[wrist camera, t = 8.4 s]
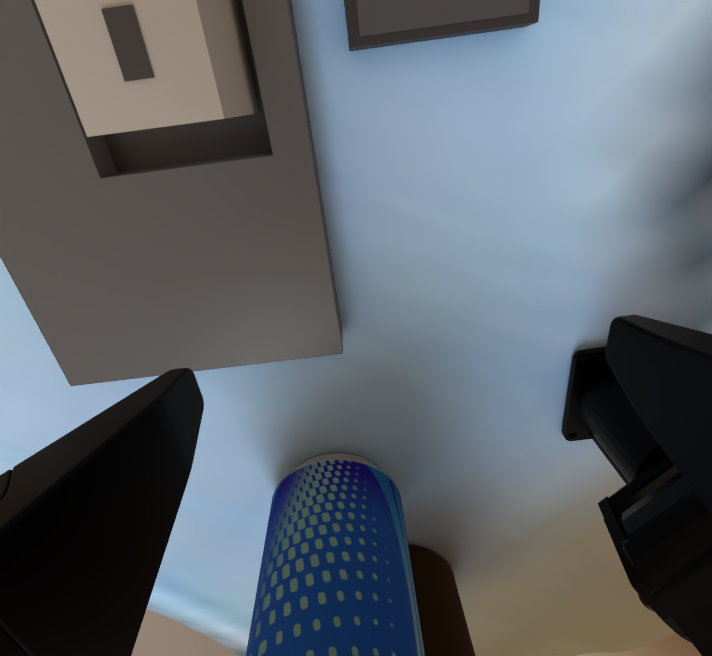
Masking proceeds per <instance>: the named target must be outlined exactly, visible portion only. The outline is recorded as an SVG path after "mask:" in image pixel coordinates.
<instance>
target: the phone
mask: <svg viewBox="0 0 712 656" xmlns="http://www.w3.org/2000/svg"><path fill="white" fill-rule="evenodd" d="M539 4H540V0H344V5H345V14H346V23H347V33H348V42H349V51H355V50H362V49H369V48H377V47H384V46H391V45H398V44H405V43H413V42H420V41H427V40H434V39H441V38H449V37H456V36H463V35H470V34H477V33H485V32H492V31H499V30H506V29H513V28H521V27H526V26H529V25H531V24H534V23H537V22H538V18H539Z"/></svg>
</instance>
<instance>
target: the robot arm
mask: <svg viewBox="0 0 712 656" xmlns="http://www.w3.org/2000/svg"><path fill="white" fill-rule="evenodd" d="M585 357H586V358H585ZM583 358H585V359H584V360H583V361H581V360H582V359H583ZM203 408H204V402H203V397H202V394H201V392H200V389H199V386H198V383H197V381H196V378H195V375H194V373H193V371H192V370H191V369H190V368H179V369H172V370H169V371H167V372H166V373H164V374H162V375H161V376H159V377H158V378H156V379H154V380H153V381H151V382H150V383H148V384H146V385H145V386H143V387H142V388H140V389H138V390H137V391H135V392H134V393H132V394H130V395H129V396H127V397H126V398H124V399H122V400H121V401H119V402H117V403H116V404H114V405H113V406H111V407H109V408H108V409H106V410H105V411H103V412H101V413H100V414H98V415H97V416H95V417H93V418H92V419H90V420H89V421H87V422H85V423H84V424H82V425H80V426H79V427H77V428H76V429H74V430H72V431H71V432H69V433H68V434H66V435H64V436H63V437H61V438H60V439H58V440H56V441H55V442H53V443H52V444H50V445H48V446H47V447H45V448H44V449H42V450H40V451H39V452H37V453H35V454H34V455H32V456H31V457H29V458H27V459H26V460H24V461H23V462H21V463H19V464H18V465H16V466H15V467H14V468H13V470H8V471H6V472H5V473H3V474H2V475H0V656H131V654H132V651H133V648H134V645H135V642H136V639H137V636H138V632H139V629H140V626H141V623H142V620H143V617H144V614H145V611H146V608H147V605H148V602H149V599H150V596H151V593H152V589H153V586H154V583H155V580H156V577H157V574H158V571H159V568H160V565H161V562H162V559H163V556H164V552H165V549H166V546H167V543H168V540H169V537H170V534H171V531H172V528H173V525H174V522H175V519H176V515H177V512H178V509H179V506H180V503H181V500H182V497H183V494H184V491H185V488H186V485H187V482H188V478H189V475H190V472H191V468H192V463H193V459H194V454H195V449H196V444H197V439H198V434H199V429H200V424H201V419H202V414H203ZM571 432H572V433H571ZM562 434H563V436H564V437H565V439H566V440H568V441H576V440H584V439H593V440H594V442H595V443H596V444H597V446H598V447H599V448H600V450H601V451H602V452H603V454H604V455H605V456H606V458H607V459H608V460H609V462H610V463H611V464H612V466H613V467H614V468H615V470H616V471H617V472H618V474H619V475H620V476H621V478H622V479H623V481H624V482H625V483H626V485H625V486H624V487H622V488H621V489H620V490H618V491H617V492H616V493H614V494H613V495H612V496H610V497H609V498H608V497H605V498H604V499H603V500H602V501H600V502H599V503H598V505H599V507H600V510H601V512H602V514H603V517H604V521H605V524H606V526H607V528H608V531H609V533H610V536H611V538H612V540H613V543H614V545H615V548H616V550H617V552H618V555H619V557H620V560H621V562H622V564H623V567H624V569H625V572H626V574H627V576H628V579H629V581H630V583H631V585H632V587H633V588H634V589H635V590H636V592H637V593H638V596H639V598H640V600H641V602H642V603H643V604H644V606H645V607H646V608H648V609H649V610H651V611H654V612H656V614H657V615H658V616H659V617H660V618H661V619H662V620H663V621H664V622H665V623H666V624H667V625H668V626H669V627H670V628H671V629H672V630H673V631H675V632H676V633H678V634H679V635H680V636H681V637H682V638H684V639H686V640H687V641H689V642H691V643H693V645H694V646H695V647H696V648H697V650H698V651H699V652H700V654H701V655H702V656H712V334H708V333H704V332H700V331H697V330H693V329H689V328H685V327H681V326H677V325H673V324H669V323H666V322H662V321H658V320H654V319H650V318H646V317H642V316H638V315H628V316H620V317H616V318H614V319H613V320H612V322H611V325H610V330H609V335H608V340H607V345H606V347H602V348H593V349H585V350H580V351H578V352H576V353H575V355H574V356H573V360H572V366H571V373H570V380H569V386H568V393H567V400H566V406H565V413H564V420H563V426H562Z"/></svg>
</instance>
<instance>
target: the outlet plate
mask: <svg viewBox="0 0 712 656" xmlns="http://www.w3.org/2000/svg"><path fill="white" fill-rule="evenodd" d="M237 5H238V10H239V15H240V20H241V25H242V30H243V34H244V39H245V44H246V49H247V54H248V59H249V64H250V69H251V74H252V79H253V84H254V89H255V94H256V99H257V104H258V109H259V113H257V114H251V115H245V116H239V117H232V118H226V119H219V120H211V121H204V122H196V123H189V124H181V125H174V126H166V127H159V128H151V129H144V130H136V131H129V132H121V133H114V134H106V135H99V136H91V137H87V135H86V133H85V130H84V127H83V125H82V122H81V120H80V117H79V114H78V112H77V109H76V107H75V104H74V102H73V99H72V96H71V94H70V91H69V89H68V86H67V83H66V81H65V78H64V76H63V73H62V70H61V68H60V65H59V63H58V60H57V57H56V55H55V52H54V50H53V47H52V44H51V42H50V39H49V37H48V34H47V31H46V29H45V26H44V24H43V21H42V18H41V16H40V13H39V11H38V8H37V5H36V3H35V0H0V257H1V259H2V261H3V263H4V265H5V266H6V268H7V270H8V272H9V274H10V276H11V277H12V279H13V281H14V283H15V285H16V287H17V288H18V290H19V292H20V294H21V296H22V298H23V299H24V301H25V303H26V305H27V307H28V309H29V310H30V312H31V314H32V316H33V318H34V320H35V321H36V323H37V325H38V327H39V329H40V331H41V332H42V334H43V336H44V338H45V340H46V342H47V343H48V345H49V347H50V349H51V351H52V353H53V355H54V356H55V358H56V360H57V362H58V364H59V366H60V367H61V369H62V371H63V373H64V375H65V377H66V378H67V380H68V382H69V384H70V386H76V385H84V384H92V383H101V382H109V381H117V380H126V379H134V378H142V377H151V376H159V375H162V374H164V373H166V372H167V371H169V370H172V369H179V368H190V369H191V370H192V371H201V370H209V369H217V368H226V367H234V366H242V365H251V364H259V363H267V362H276V361H284V360H292V359H301V358H309V357H317V356H326V355H334V354H342V353H343V337H342V328H341V321H340V315H339V308H338V302H337V295H336V289H335V282H334V276H333V270H332V263H331V257H330V250H329V244H328V237H327V231H326V224H325V218H324V211H323V205H322V198H321V192H320V185H319V179H318V172H317V166H316V159H315V153H314V147H313V140H312V134H311V127H310V121H309V114H308V108H307V101H306V95H305V88H304V82H303V75H302V69H301V62H300V56H299V49H298V43H297V36H296V30H295V24H294V17H293V11H292V4H291V0H237Z"/></svg>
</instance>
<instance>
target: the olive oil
mask: <svg viewBox="0 0 712 656" xmlns="http://www.w3.org/2000/svg"><path fill="white" fill-rule="evenodd" d="M408 549H409V555H410V562H411V568H412V575H413V581H414V588H415V594H416V601H417V607H418V613H419V620H420V626H421V633H422V639H423V646H424V652H425V656H475V653H474V649H473V645H472V642H471V638H470V634H469V631H468V627H467V623H466V620H465V616H464V612H463V608H462V605H461V601H460V597H459V593H458V590H457V586H456V582H455V579H454V575H453V572H452V570H451V567H450V566H449V564H448V563H447V562H446V561H445V560H444V559H443V558H442V557H441V556H439V555H438V554H436V553H434V552H432V551H430V550H427V549H424V548H421V547H416V546H409V545H408Z"/></svg>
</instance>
